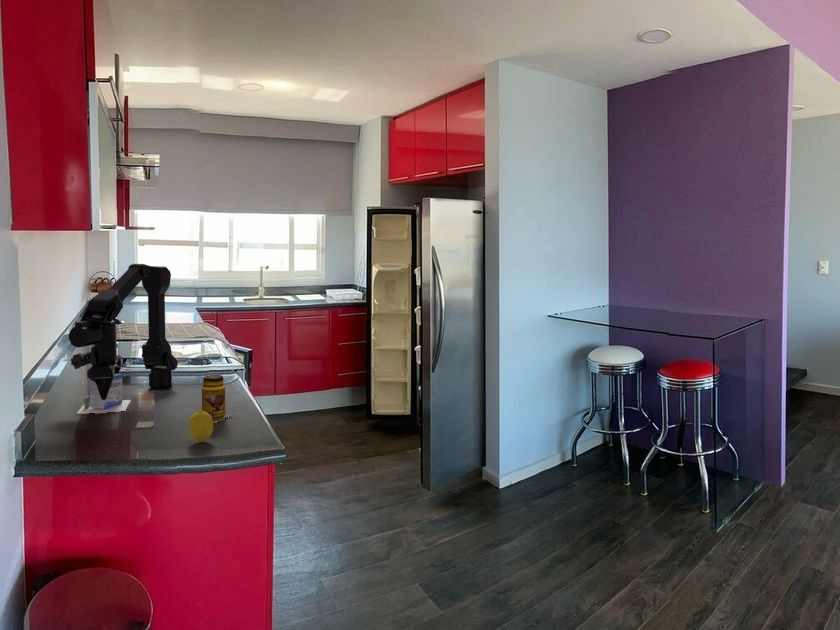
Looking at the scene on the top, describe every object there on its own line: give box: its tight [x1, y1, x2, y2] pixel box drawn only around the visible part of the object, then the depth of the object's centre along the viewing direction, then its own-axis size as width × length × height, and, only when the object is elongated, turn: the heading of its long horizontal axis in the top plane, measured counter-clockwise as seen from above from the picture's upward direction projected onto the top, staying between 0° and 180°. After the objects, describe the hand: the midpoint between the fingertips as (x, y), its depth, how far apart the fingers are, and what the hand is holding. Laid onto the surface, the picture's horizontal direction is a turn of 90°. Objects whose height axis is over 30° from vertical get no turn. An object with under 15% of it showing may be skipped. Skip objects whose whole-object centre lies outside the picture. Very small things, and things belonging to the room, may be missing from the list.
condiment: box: [201, 374, 230, 422], centre depth 164 cm, size 7×8×12 cm
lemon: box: [188, 409, 214, 443], centre depth 145 cm, size 6×6×8 cm
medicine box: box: [89, 373, 123, 409], centre depth 172 cm, size 8×4×9 cm, turn 169°
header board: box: [76, 394, 132, 415], centre depth 172 cm, size 12×12×3 cm
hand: (106, 395), depth 172 cm, fingers open, 9 cm apart
